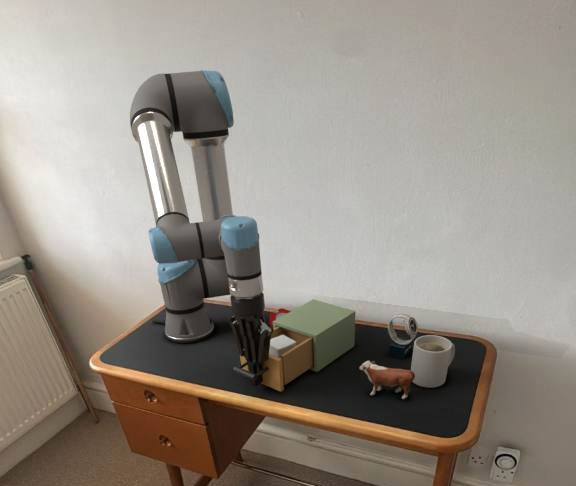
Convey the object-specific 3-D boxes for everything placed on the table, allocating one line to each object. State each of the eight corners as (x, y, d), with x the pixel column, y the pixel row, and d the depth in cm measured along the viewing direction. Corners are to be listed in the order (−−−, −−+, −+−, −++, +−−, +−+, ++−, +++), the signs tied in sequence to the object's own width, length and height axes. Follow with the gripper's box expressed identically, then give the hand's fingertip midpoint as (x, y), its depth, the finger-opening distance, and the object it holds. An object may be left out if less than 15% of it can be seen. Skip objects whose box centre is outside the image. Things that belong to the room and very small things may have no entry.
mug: (410, 387, 116) (415, 351, 110) (408, 367, 123) (412, 333, 117) (456, 388, 114) (463, 352, 108) (450, 368, 122) (457, 334, 115)
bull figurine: (359, 384, 118) (361, 356, 113) (413, 392, 114) (417, 363, 109) (355, 393, 115) (356, 364, 110) (410, 402, 111) (414, 373, 106)
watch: (409, 360, 126) (414, 323, 119) (382, 353, 130) (385, 316, 123) (417, 351, 130) (422, 314, 123) (391, 345, 133) (394, 308, 126)
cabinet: (316, 372, 124) (316, 335, 117) (275, 356, 132) (272, 321, 125) (354, 346, 134) (355, 310, 127) (313, 332, 142) (313, 299, 135)
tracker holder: (275, 330, 142) (262, 311, 148) (278, 340, 146) (265, 321, 151) (310, 313, 144) (295, 295, 149) (312, 323, 147) (297, 306, 153)
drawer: (265, 402, 112) (262, 371, 107) (226, 384, 120) (221, 354, 114) (321, 364, 125) (320, 334, 120) (283, 350, 132) (281, 321, 127)
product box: (279, 374, 120) (277, 349, 115) (266, 365, 124) (263, 341, 119) (298, 366, 123) (297, 341, 118) (284, 358, 127) (282, 333, 122)
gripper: (214, 292, 105) (228, 381, 119) (256, 305, 98) (265, 398, 112) (238, 282, 109) (249, 369, 124) (279, 294, 102) (285, 384, 117)
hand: (256, 383), depth 118 cm, fingers closed
